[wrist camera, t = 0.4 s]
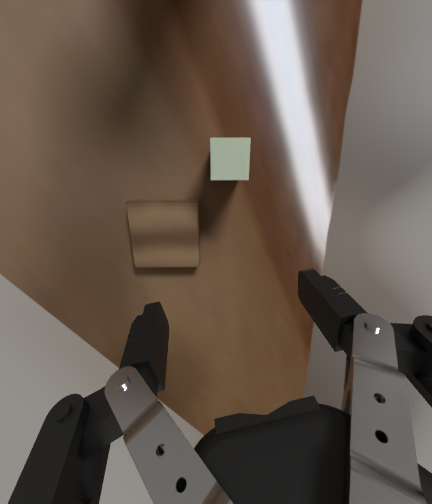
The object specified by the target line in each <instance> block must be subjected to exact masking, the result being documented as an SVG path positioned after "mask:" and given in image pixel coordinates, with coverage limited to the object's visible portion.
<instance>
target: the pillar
mask: <svg viewBox="0 0 432 504" xmlns="http://www.w3.org/2000/svg"><path fill="white" fill-rule="evenodd" d="M250 139H251V138H210V149H211V180H249V161H250Z"/></svg>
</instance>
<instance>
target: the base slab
mask: <svg viewBox="0 0 432 504" xmlns="http://www.w3.org/2000/svg"><path fill="white" fill-rule="evenodd" d="M126 206H127V213H128V220H129V228H130V235H131V242H132V249H133V256H134V263H135V267H199V266H200V231H199V200H130V201H127V202H126Z"/></svg>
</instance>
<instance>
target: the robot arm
mask: <svg viewBox="0 0 432 504" xmlns="http://www.w3.org/2000/svg"><path fill="white" fill-rule="evenodd" d="M298 296H299V299H300V301H301V303H302V305H303V306H304V307H305V309H306V310H307V312H308V313H309V315H310V316H311V318H312V319H313V321H314V322H315V323H316V325H317V326H318V328H319V329H320V331H321V332H322V334H323V335H324V337H325V338H326V339H327V341H328V342H329V344H330V345H331V347H332V348H333V350H334V351H335V352H336V351H340V350H344V352H345V353H346V354H347V356H346V366H345V378H344V379H345V380H344V392H343V400H342V407H341V410H339V409H337V408H335V407H331V406H328V405H324V404H318V403H317V401H316V399H315V397H314V396H310V397H306V398H302V399H298V400H293V401H290V402H288V403H286V404H285V405H283V406H281V407H280V408H278V409H276V410H275V411H273V412H271V413H270V414H268V415H257V414H243V413H238V414H234V415H229V416H225V417H221V418H217V419H215V428H213V429H212V430H210V431H209V432H208V433H207V434H205V435H204V437H203V438H202V439H201V440H200V441H199V442H198V444H197V445H196V446H195V448H193V447H192V446H191V444H190V443H189V442H188V440H187V439H186V437H185V436H184V435H183V433H182V432H181V430H180V429H179V427H178V426H177V425H176V423H175V422H174V420H173V419H172V418H171V416H170V415H169V413H168V412H167V411H166V409H165V408H164V406H163V405H162V404H161V402H160V401H158V399H157V398H156V397H157V392H158V391H163V390H164V389H165V377H166V364H167V352H168V339H169V324H168V320H167V318H166V315H165V313H164V310H163V308H162V305H161V303H160V302H155V303H150V304H146V305H145V307H144V312H143V315H139V316H137V317H136V319H135V320H134V321H133V323H132V325H131V328H130V332H129V333H130V334H129V335H128V339H127V340H128V341H127V343H126V346H125V350H124V353H123V357H122V360H121V364H120V367H119V370H118V371H116V372H115V373H114V374H113V375H112V376H111V377H110V379H109V380H108V382H107V384H106V386H105V387H103V388H102V389H100V390H98V391H96V392H94V393H93V394H91V395H89V396H87V397H85V398H83V397H82V396H81V395H79V394H71V395H69V396H66V397H64V398H63V399H61V400H60V401H59V402H58V403H57V404H56V405H55V406H54V407H53V408H52V409H51V410H50V412H49V413H48V415H47V416H46V419H45V421H44V423H43V425H42V427H41V430H40V432H39V434H38V436H37V439H36V441H35V443H34V446H33V448H32V450H31V452H30V455H29V457H28V459H27V461H26V464H25V466H24V468H23V470H22V473H21V475H20V477H19V479H18V482H17V484H16V486H15V489H14V491H13V493H12V495H11V498H10V500H9V502H8V504H99V500H100V495H101V490H102V484H103V479H104V474H105V469H106V464H107V459H108V454H109V449H110V444H111V442H113V441H114V440H116V439H118V438H119V437H121V436H123V435H124V437H123V439H124V442H125V444H126V446H127V448H128V451H129V453H130V455H131V457H132V459H133V461H134V463H135V465H136V468H137V470H138V472H139V474H140V476H141V478H142V480H143V482H144V484H145V487H146V489H147V491H148V493H149V495H150V497H151V499H152V501H153V503H154V504H432V473H430V472H429V471H428V470H426V469H425V468H423V467H422V466H420V465H419V464H418V463H417V458H416V451H415V443H414V437H413V430H412V422H411V416H410V408H409V401H408V395H407V387H406V380H405V376H406V377H407V378H408V380H409V381H410V382H411V383H412V384H413V386H414V387H415V388H416V389H417V390H418V392H419V393H420V394H421V395H422V396H423V398H424V399H425V400H426V401H427V402H428V404H429V405H430V406H431V407H432V316H427V315H426V316H418V317H416V318H415V320H414V322H413V324H398V323H397V324H396V323H389V322H388V321H387V320H386V319H384V318H382V317H380V316H378V315H375V314H371V313H367V312H366V311H365V310H364V309H363V308H362V307H361V306H360V305H359V304H358V303H357V302H356V301H355V300H354V299H353V298H352V297H351V296H350V295H349V294H348V293H346V291H345V290H344V289H342V288H341V287H340V286H339V285H338V284H337V283H336V282H335V281H334V280H333V279H331V278H329V277H327V276H325V275H324V276H320V275H319V274H318V273H317V272H316V271H315V270H314V269H308V270H303V271H299V273H298ZM404 375H405V376H404Z"/></svg>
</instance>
